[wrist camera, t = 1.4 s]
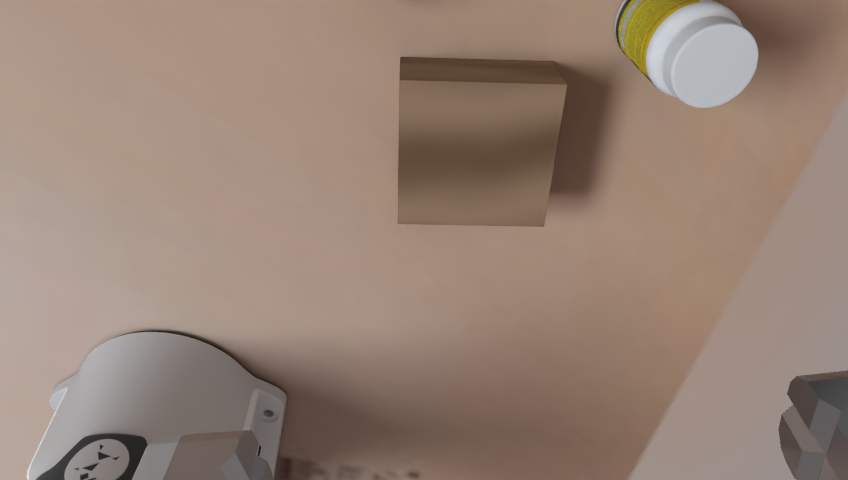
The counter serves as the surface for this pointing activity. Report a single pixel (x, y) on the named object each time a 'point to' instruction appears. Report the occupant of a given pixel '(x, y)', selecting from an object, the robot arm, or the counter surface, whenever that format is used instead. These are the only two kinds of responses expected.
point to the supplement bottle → (688, 48)
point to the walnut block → (477, 140)
